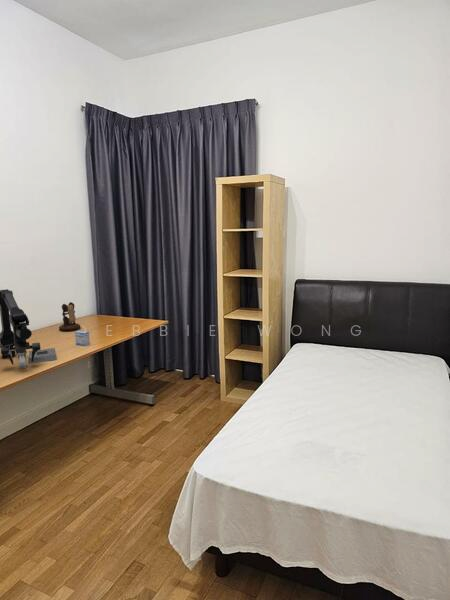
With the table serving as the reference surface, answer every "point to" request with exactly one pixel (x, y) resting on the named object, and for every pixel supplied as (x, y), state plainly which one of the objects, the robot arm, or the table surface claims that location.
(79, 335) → the medicine box
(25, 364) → the silver flanged peg
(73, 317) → the brown figurine
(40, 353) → the socket block
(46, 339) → the table surface
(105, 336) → the table surface
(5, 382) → the table surface
